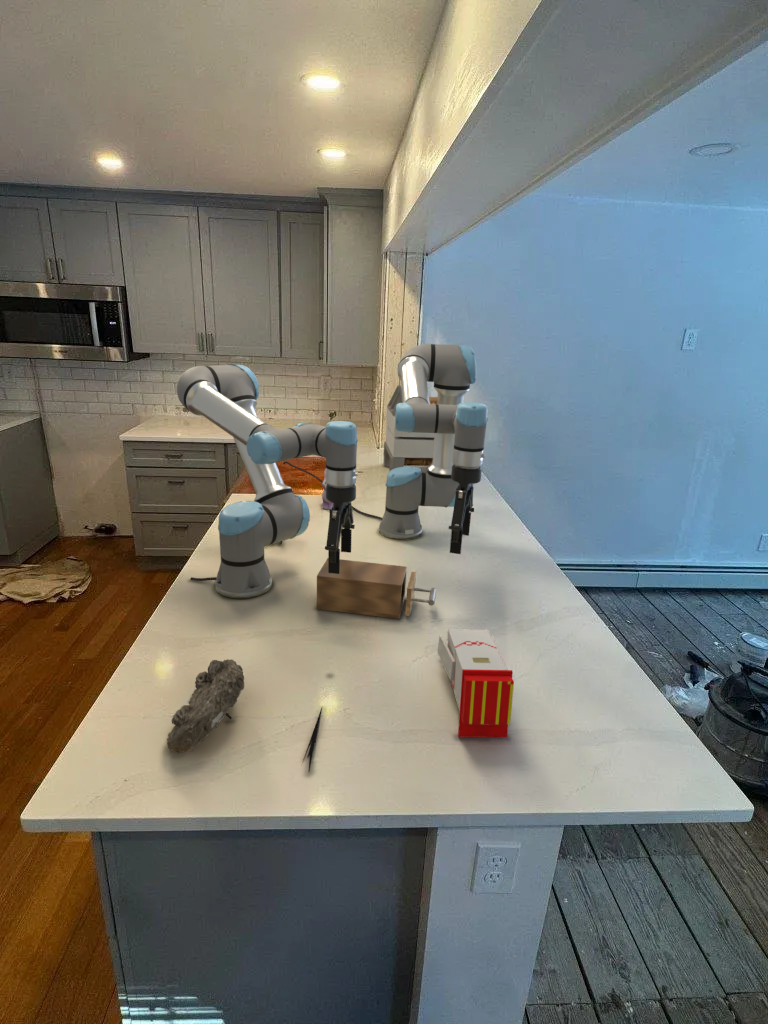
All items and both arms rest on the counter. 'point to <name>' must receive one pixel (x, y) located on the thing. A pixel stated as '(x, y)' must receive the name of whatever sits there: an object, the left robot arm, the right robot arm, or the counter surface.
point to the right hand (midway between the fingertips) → (459, 543)
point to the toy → (478, 682)
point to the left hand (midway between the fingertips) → (340, 561)
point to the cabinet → (362, 588)
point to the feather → (313, 740)
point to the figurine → (326, 503)
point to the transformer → (406, 440)
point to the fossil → (206, 705)
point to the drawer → (411, 592)
